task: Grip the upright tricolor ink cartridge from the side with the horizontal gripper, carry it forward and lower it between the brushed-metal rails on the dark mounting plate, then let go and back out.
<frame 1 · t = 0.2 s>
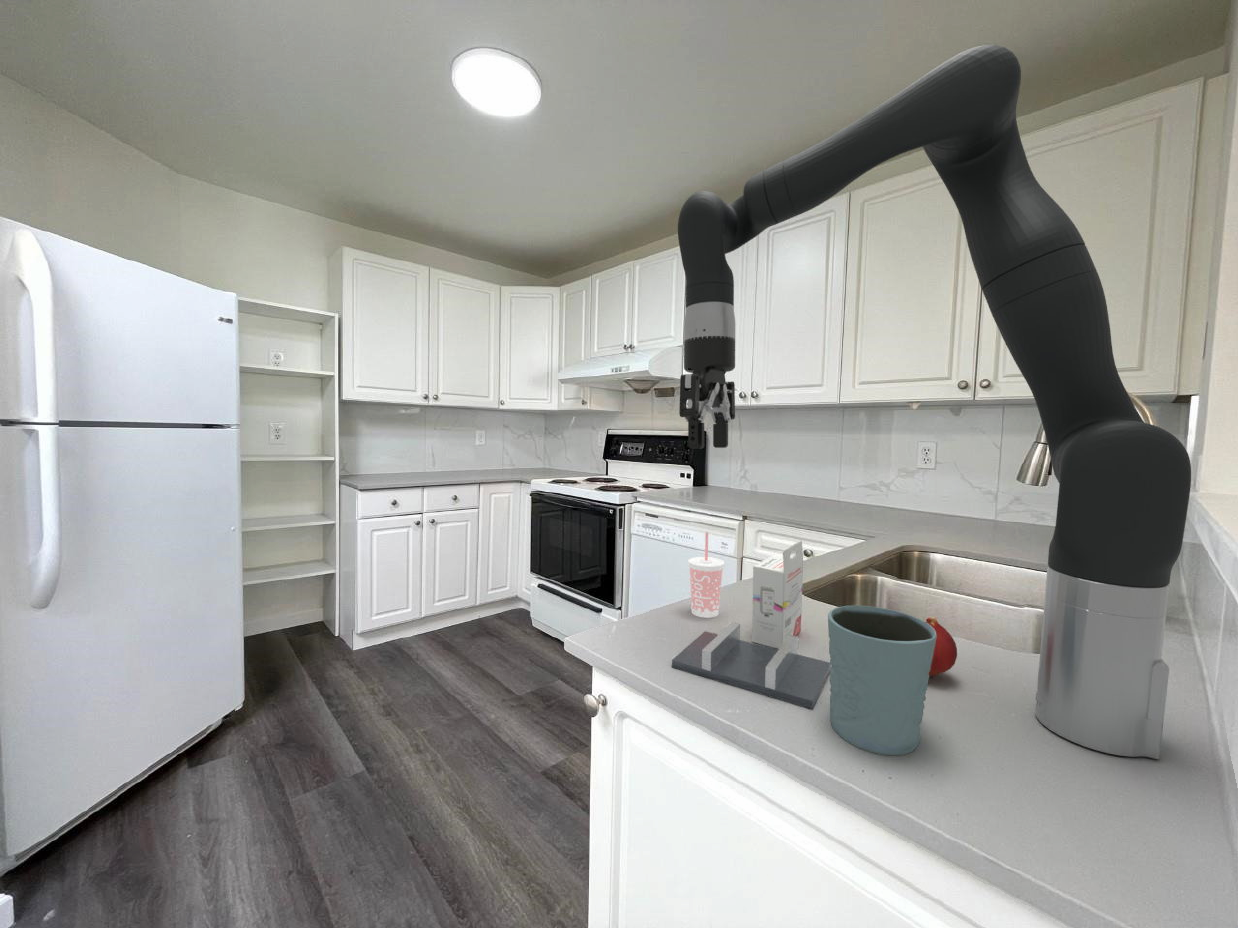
hand: (709, 448, 76), 29 cm above the worktop, tool pointing down, fingers open, 8 cm apart
teal ceramic vase: (874, 730, 55), on the worktop
rail channel: (750, 668, 68), on the worktop
onion: (928, 677, 66), on the worktop
ink cartridge box: (776, 638, 78), on the worktop
beverage cup: (705, 613, 87), on the worktop
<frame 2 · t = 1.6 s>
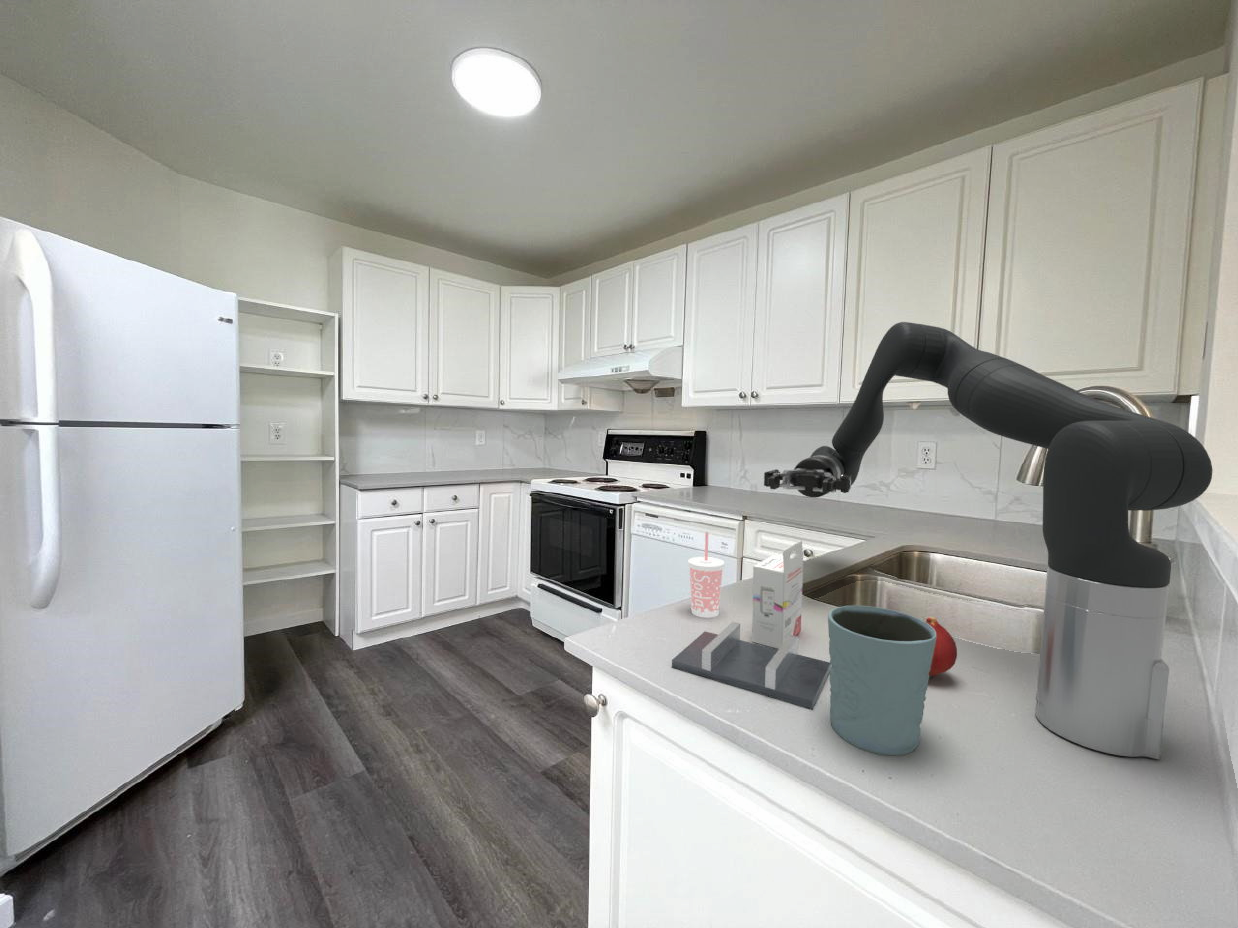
hand: (797, 485, 85), 22 cm above the worktop, tool horizontal, fingers open, 8 cm apart
nothing on the worktop moved.
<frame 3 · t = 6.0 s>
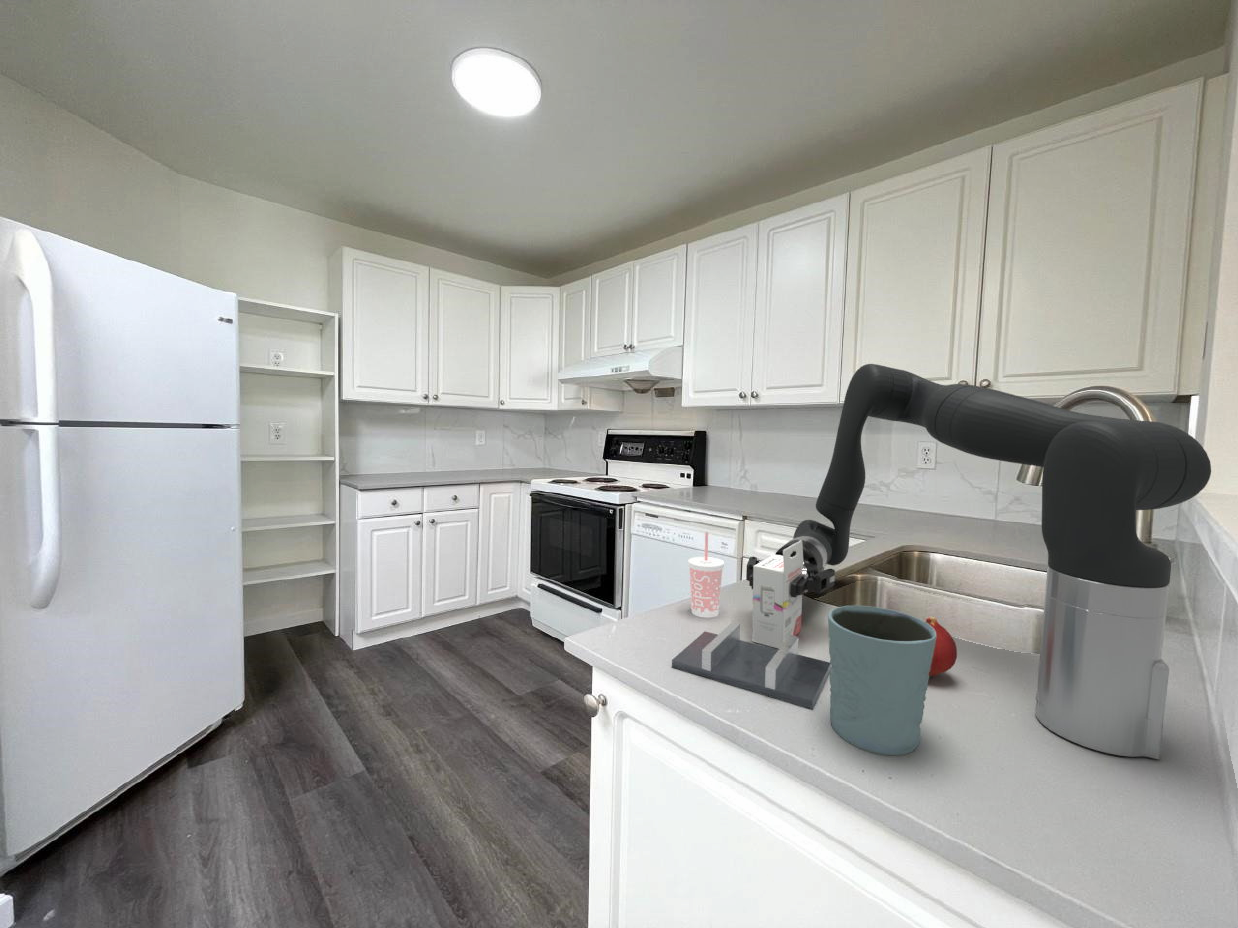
hand: (773, 586, 75), 9 cm above the worktop, tool horizontal, fingers closed on ink cartridge box, 5 cm apart
ink cartridge box: (776, 637, 78), on the worktop, touching gripper
everything else where it was.
when the fingers open (10 cm above the worktop, at t = 10.9 s): ink cartridge box stays where it is, resting on rail channel.
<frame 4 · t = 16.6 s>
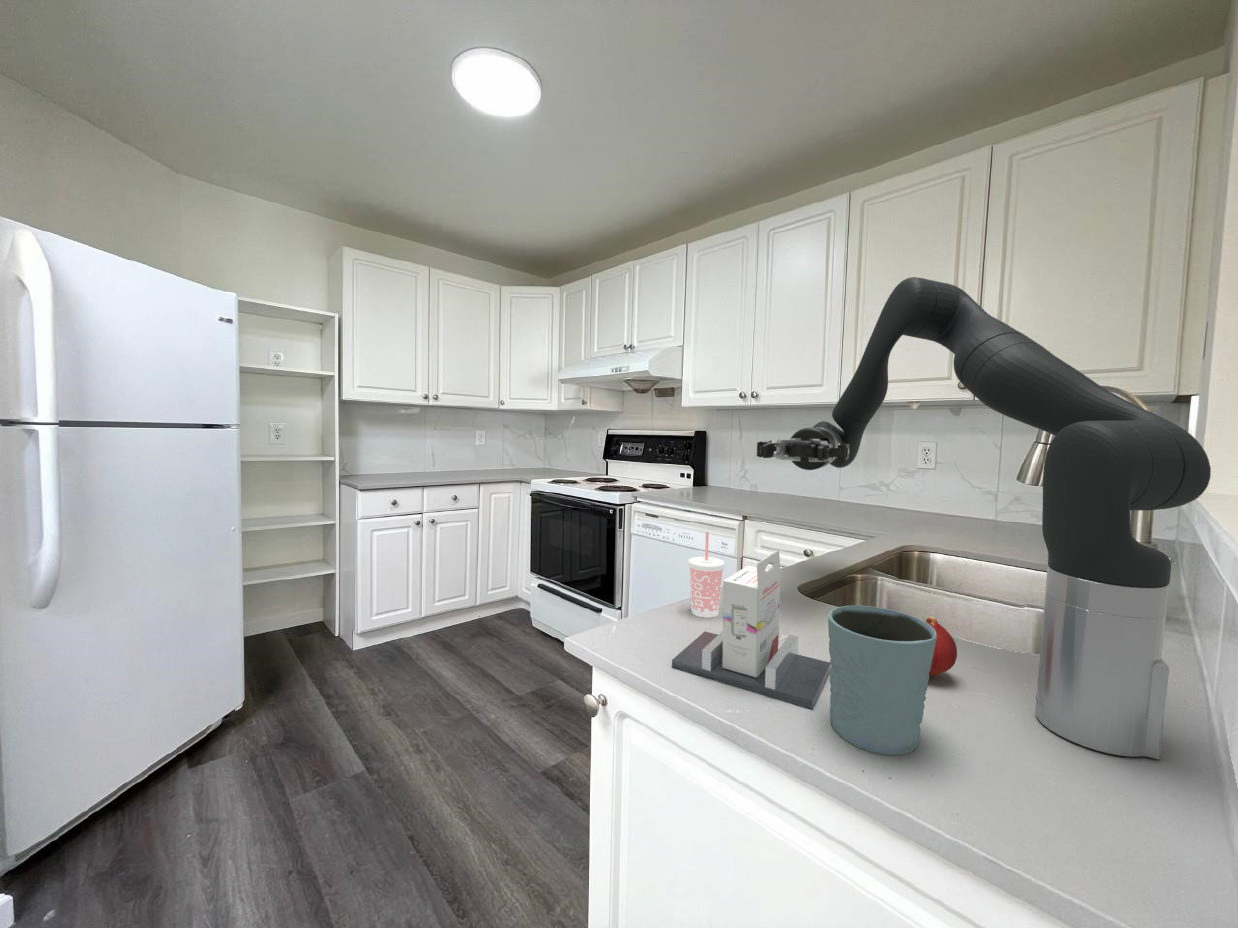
hand: (791, 452, 80), 28 cm above the worktop, tool horizontal, fingers open, 8 cm apart
ink cartridge box: (750, 662, 68), point 1 cm above the worktop, touching rail channel
everything else where it was.
at the end: ink cartridge box 0.2 cm off-centre on the rail channel, point 0.8 cm above the rail channel's base; ink cartridge box tilted 0°; the gripper is holding nothing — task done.
